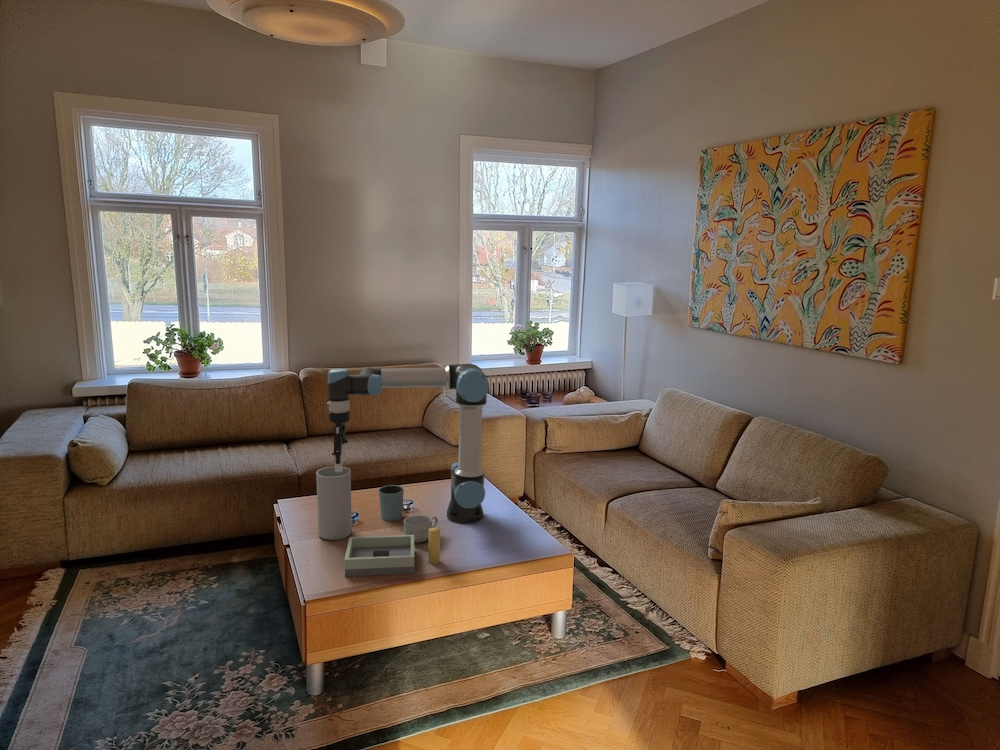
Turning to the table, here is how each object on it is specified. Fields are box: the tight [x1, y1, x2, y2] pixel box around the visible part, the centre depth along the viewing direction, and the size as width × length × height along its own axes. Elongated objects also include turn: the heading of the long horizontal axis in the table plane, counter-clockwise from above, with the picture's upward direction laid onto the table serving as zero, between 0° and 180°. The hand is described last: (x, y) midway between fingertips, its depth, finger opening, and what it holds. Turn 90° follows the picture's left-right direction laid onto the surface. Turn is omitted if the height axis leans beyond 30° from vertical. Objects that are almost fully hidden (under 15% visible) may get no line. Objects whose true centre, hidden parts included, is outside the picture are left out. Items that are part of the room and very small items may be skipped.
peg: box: [428, 526, 441, 565], centre depth 233 cm, size 4×4×12 cm
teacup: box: [403, 514, 439, 543], centre depth 252 cm, size 14×11×8 cm
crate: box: [344, 534, 415, 577], centre depth 232 cm, size 23×18×6 cm
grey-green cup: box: [378, 484, 405, 522], centre depth 272 cm, size 10×10×12 cm
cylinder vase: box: [315, 466, 353, 541], centre depth 253 cm, size 12×12×25 cm
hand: (340, 465), depth 250 cm, fingers open, 13 cm apart
